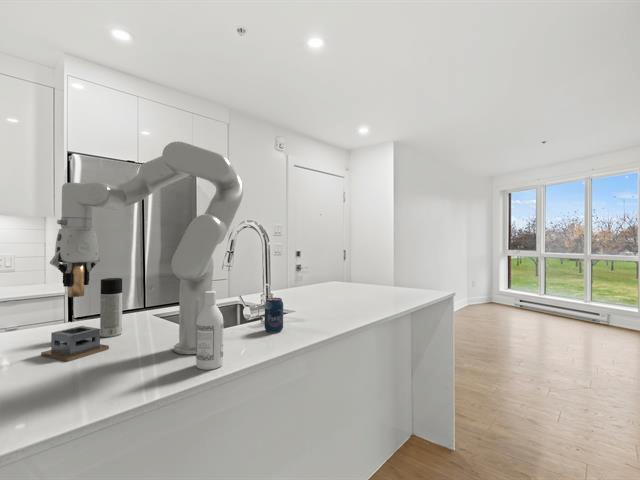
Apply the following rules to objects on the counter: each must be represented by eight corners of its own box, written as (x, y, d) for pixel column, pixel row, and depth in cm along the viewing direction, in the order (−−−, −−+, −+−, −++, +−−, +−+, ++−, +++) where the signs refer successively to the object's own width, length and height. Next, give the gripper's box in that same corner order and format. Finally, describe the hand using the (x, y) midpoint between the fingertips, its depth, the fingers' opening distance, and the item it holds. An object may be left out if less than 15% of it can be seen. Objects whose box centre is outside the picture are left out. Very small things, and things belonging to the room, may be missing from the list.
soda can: (268, 334, 123) (268, 301, 123) (261, 329, 129) (262, 298, 129) (286, 331, 126) (286, 299, 127) (278, 327, 132) (278, 296, 132)
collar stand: (108, 349, 105) (109, 328, 105) (67, 361, 94) (67, 338, 94) (83, 344, 110) (83, 324, 110) (41, 355, 99) (41, 333, 99)
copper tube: (87, 295, 103) (88, 259, 103) (73, 297, 99) (73, 259, 99) (78, 294, 105) (79, 258, 105) (64, 296, 101) (64, 259, 101)
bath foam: (213, 359, 97) (214, 289, 97) (228, 365, 92) (228, 291, 92) (191, 366, 91) (191, 291, 91) (205, 372, 87) (205, 294, 87)
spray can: (126, 332, 124) (126, 277, 124) (113, 338, 117) (113, 279, 117) (109, 332, 124) (109, 277, 124) (95, 337, 118) (95, 279, 118)
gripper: (54, 223, 93) (53, 290, 93) (112, 225, 108) (111, 283, 108) (37, 223, 96) (36, 288, 96) (96, 226, 111) (95, 282, 111)
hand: (76, 285), depth 102 cm, fingers closed on copper tube, 4 cm apart
